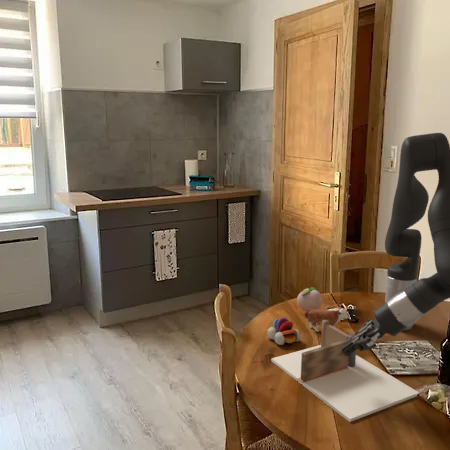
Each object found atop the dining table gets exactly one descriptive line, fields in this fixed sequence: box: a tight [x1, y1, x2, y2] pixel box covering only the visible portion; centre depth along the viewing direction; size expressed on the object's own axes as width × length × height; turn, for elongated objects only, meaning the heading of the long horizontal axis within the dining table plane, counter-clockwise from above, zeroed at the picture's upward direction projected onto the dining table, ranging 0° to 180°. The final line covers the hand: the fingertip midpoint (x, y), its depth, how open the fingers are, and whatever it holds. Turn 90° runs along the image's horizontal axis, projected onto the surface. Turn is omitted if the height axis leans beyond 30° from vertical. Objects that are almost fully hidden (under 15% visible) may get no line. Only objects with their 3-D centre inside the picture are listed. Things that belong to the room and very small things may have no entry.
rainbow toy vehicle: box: [267, 316, 302, 346], centre depth 149 cm, size 8×10×7 cm
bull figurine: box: [306, 307, 349, 333], centre depth 155 cm, size 4×13×8 cm, turn 79°
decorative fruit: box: [296, 286, 323, 313], centre depth 169 cm, size 9×8×10 cm
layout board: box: [270, 320, 420, 423], centre depth 127 cm, size 23×32×10 cm
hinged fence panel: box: [301, 339, 350, 381], centre depth 127 cm, size 16×1×8 cm, turn 121°
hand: (343, 352), depth 121 cm, fingers closed
